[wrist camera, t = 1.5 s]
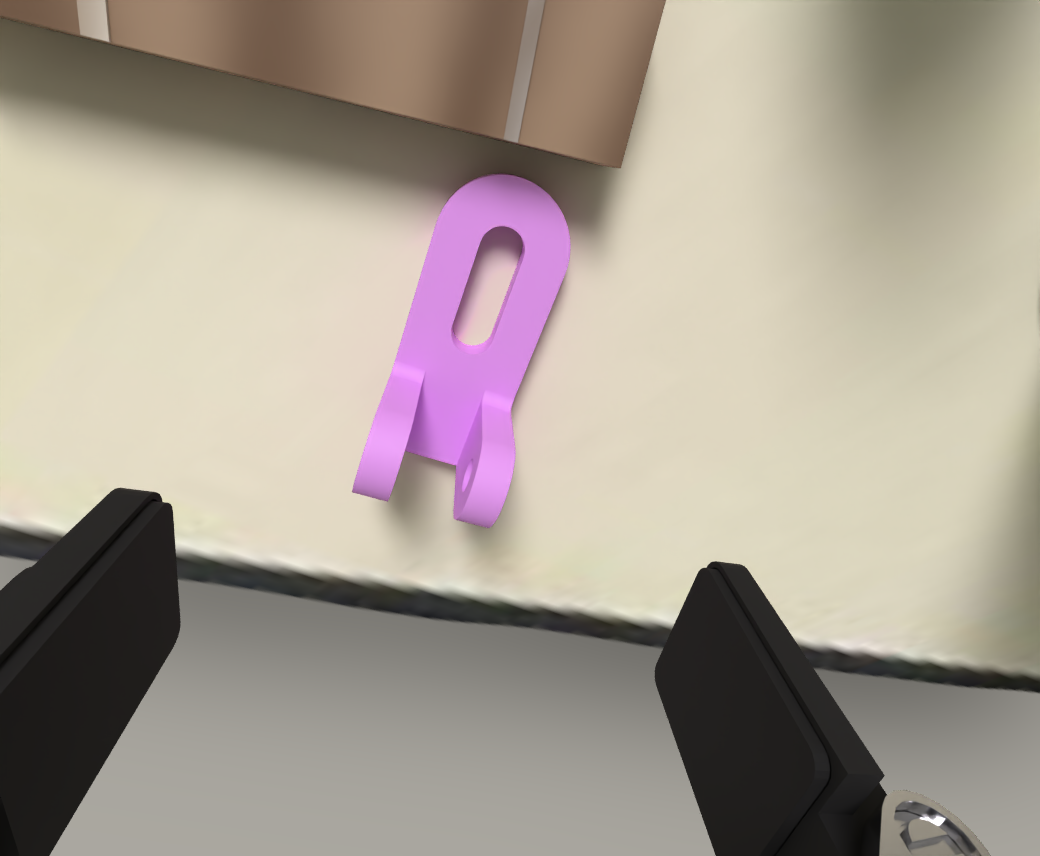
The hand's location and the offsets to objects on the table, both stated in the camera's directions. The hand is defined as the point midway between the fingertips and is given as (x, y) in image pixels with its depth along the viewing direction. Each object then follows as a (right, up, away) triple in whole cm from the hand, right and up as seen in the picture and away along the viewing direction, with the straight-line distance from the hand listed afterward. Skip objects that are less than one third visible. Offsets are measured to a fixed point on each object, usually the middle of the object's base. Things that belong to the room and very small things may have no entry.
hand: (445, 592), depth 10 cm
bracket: (-1, +8, +15) cm, 17 cm away
